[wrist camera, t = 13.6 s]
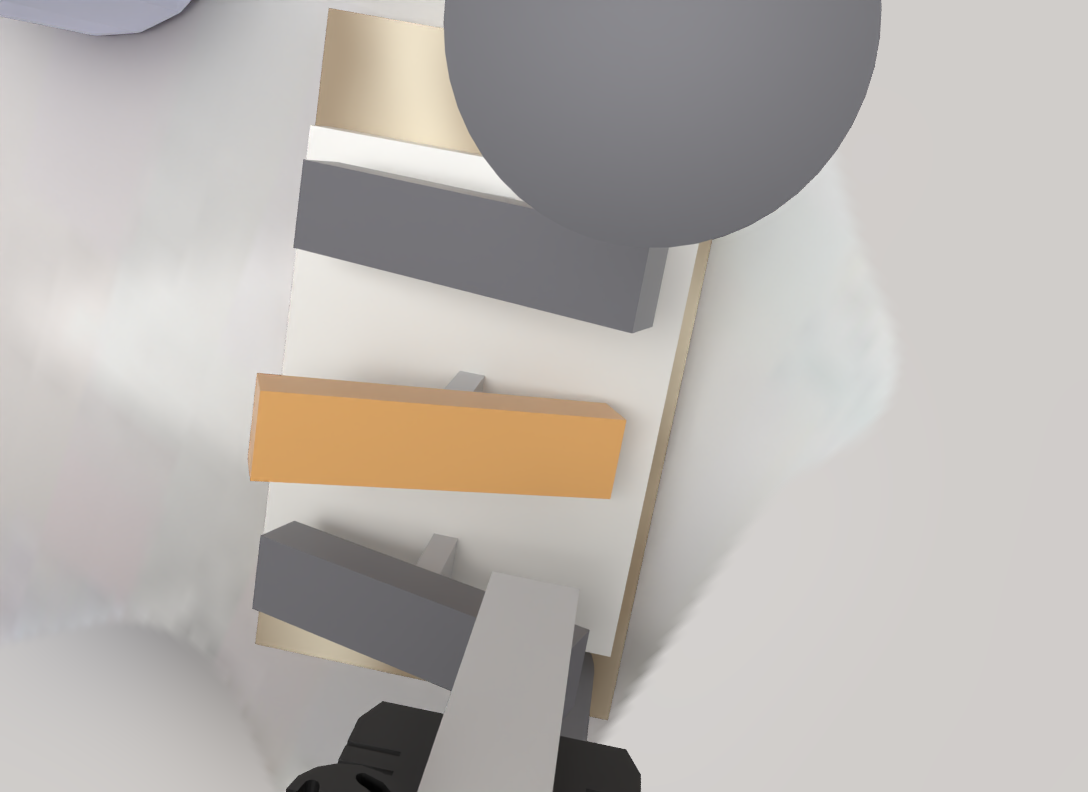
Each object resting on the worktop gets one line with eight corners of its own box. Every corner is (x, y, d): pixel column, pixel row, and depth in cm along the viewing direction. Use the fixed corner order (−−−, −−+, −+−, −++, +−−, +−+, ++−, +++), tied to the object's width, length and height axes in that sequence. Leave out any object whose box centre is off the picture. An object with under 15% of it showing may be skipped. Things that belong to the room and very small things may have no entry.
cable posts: (491, 700, 36) (207, 1666, 13) (610, 51, 31) (480, -247, 8) (584, 720, 36) (462, 1736, 13) (721, 70, 31) (933, -174, 7)
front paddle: (327, 246, 29) (293, 247, 28) (338, 161, 29) (303, 159, 27) (652, 326, 26) (631, 333, 24) (671, 232, 25) (652, 233, 24)
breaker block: (278, 558, 36) (222, 620, 31) (330, 126, 32) (275, 122, 28) (612, 629, 35) (606, 703, 31) (705, 195, 32) (714, 203, 27)
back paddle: (286, 590, 32) (252, 608, 31) (294, 520, 32) (260, 535, 30) (573, 706, 29) (551, 733, 27) (589, 630, 28) (567, 652, 27)
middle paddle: (247, 459, 27) (249, 480, 26) (257, 373, 27) (259, 390, 25) (591, 478, 31) (610, 499, 29) (605, 403, 30) (626, 420, 29)
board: (275, 619, 39) (255, 644, 37) (347, 16, 33) (328, 8, 31) (610, 691, 38) (607, 720, 36) (740, 86, 33) (746, 82, 31)
